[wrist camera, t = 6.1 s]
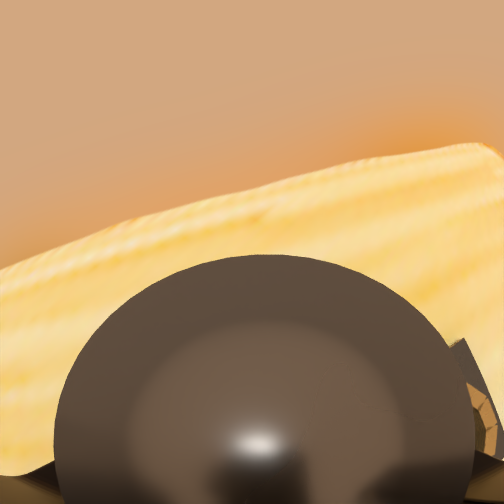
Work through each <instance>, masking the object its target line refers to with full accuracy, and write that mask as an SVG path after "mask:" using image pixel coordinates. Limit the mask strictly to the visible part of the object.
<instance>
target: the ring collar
mask: <svg viewBox="0 0 504 504" xmlns="http://www.w3.org/2000/svg"><path fill="white" fill-rule="evenodd" d="M449 348H450V350H451V351H452V353H453V355H454V356H455V359H456V361H457V363H458V365H459V367H460V369H461V371H462V373H463V375H464V378H465V381H466V384H467V387H468V391H469V394H470V397H471V401H472V407H473V414H474V421H475V449H477V450H479V451H481V452H484V453H486V454H488V455H490V456H493V457H495V458H497V459H500V460H502V459H503V458H504V431H503V428H502V425H501V422H500V419H499V416H498V414H497V411H496V408H495V406H494V403H493V401H492V398H491V396H490V393H489V391H488V388H487V386H486V384H485V381H484V379H483V377H482V374H481V372H480V370H479V368H478V366H477V363H476V361H475V359H474V357H473V355H472V353H471V351H470V349H469V347H468V345H467V343H466V341H465V339H464V338H462V339H460V340H459V341H457V342H456V343H454V344H453V345H452V346H450V347H449Z"/></svg>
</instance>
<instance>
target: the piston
mask: <svg viewBox="0 0 504 504" xmlns="http://www.w3.org/2000/svg"><path fill="white" fill-rule="evenodd" d="M474 454H475V421H474V414H473V407H472V401H471V397H470V394H469V391H468V387H467V384H466V381H465V378H464V375H463V373H462V371H461V369H460V367H459V365H458V363H457V361H456V359H455V356H454V355H453V353H452V351H451V350H450V348H449V347H448V345H447V344H446V342H445V341H444V339H443V338H442V336H441V335H440V334H439V332H438V331H437V330H436V329H435V328H434V327H433V325H432V324H431V323H430V322H429V321H428V320H427V319H426V318H425V316H424V315H423V314H421V313H420V312H419V311H418V310H417V309H416V308H415V307H413V306H412V305H411V304H410V303H409V302H408V301H407V300H405V299H404V298H403V297H401V296H400V295H398V294H397V293H395V292H394V291H392V290H391V289H389V288H388V287H386V286H385V285H383V284H381V283H379V282H377V281H375V280H373V279H371V278H369V277H367V276H365V275H363V274H361V273H359V272H356V271H353V270H351V269H348V268H345V267H342V266H340V265H337V264H333V263H329V262H325V261H321V260H316V259H312V258H306V257H298V256H289V255H248V256H239V257H230V258H224V259H220V260H216V261H211V262H207V263H202V264H199V265H196V266H194V267H191V268H188V269H185V270H182V271H179V272H176V273H174V274H172V275H170V276H168V277H166V278H164V279H162V280H160V281H158V282H156V283H154V284H152V285H150V286H149V287H147V288H146V289H144V290H143V291H141V292H140V293H138V294H136V295H135V296H133V297H132V298H130V299H129V300H128V301H127V302H126V303H124V304H123V305H122V306H121V307H120V308H118V309H117V310H116V311H115V312H114V313H112V314H111V315H110V316H109V317H108V318H107V319H106V320H105V322H104V323H103V324H102V325H101V326H100V327H99V328H98V329H97V330H96V331H95V332H94V333H93V335H92V336H91V338H90V339H89V340H88V342H87V343H86V345H85V346H84V348H83V349H82V350H81V352H80V353H79V355H78V357H77V359H76V361H75V362H74V364H73V366H72V368H71V370H70V372H69V374H68V376H67V379H66V382H65V384H64V387H63V390H62V393H61V396H60V399H59V404H58V408H57V413H56V419H55V427H54V459H55V469H56V474H57V479H58V483H59V487H60V491H61V495H62V497H63V500H64V503H65V504H462V503H463V500H464V498H465V495H466V492H467V488H468V485H469V481H470V478H471V474H472V469H473V462H474Z"/></svg>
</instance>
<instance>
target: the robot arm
mask: <svg viewBox="0 0 504 504" xmlns="http://www.w3.org/2000/svg"><path fill="white" fill-rule="evenodd" d="M0 504H65V503H64V500H63V497H62V495H61V491H60V487H59V483H58V479H57V474H56V469H55V460H54V461H52V462H50V463H48V464H46V465H44V466H42V467H40V468H38V469H36V470H34V471H32V472H30V473H28V474H24V475H21V476H2V475H0ZM462 504H504V461H503V460H500V459H497V458H495V457H493V456H490V455H488V454H486V453H484V452H481V451H479V450H477V449H475V454H474V462H473V469H472V474H471V478H470V481H469V485H468V488H467V492H466V495H465V498H464V500H463V503H462Z"/></svg>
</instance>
